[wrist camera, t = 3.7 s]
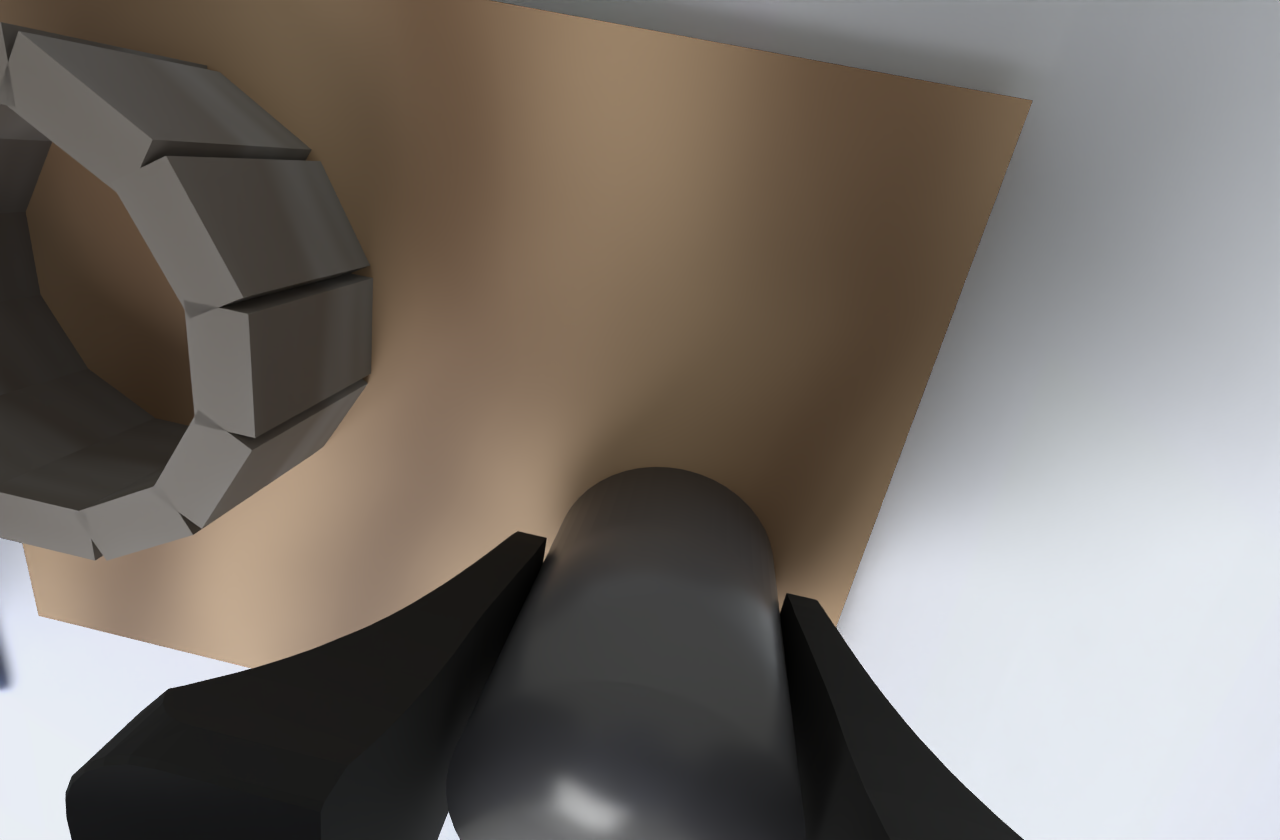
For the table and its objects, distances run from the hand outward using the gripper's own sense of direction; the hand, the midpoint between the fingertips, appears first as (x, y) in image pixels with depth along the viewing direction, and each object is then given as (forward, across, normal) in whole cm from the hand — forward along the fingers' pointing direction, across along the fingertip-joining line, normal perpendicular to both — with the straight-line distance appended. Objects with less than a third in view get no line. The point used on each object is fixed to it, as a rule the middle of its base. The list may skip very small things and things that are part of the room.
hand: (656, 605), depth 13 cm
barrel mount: (+2, +6, -2) cm, 7 cm away
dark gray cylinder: (+1, 0, 0) cm, 1 cm away
